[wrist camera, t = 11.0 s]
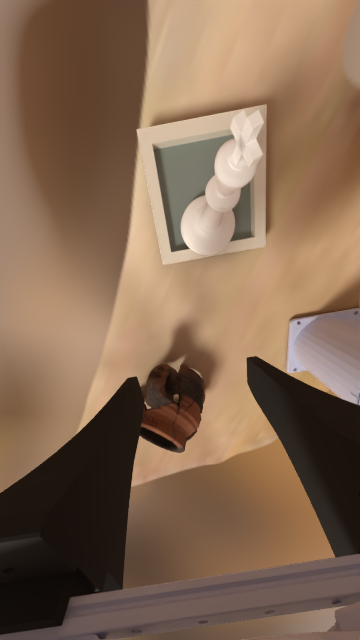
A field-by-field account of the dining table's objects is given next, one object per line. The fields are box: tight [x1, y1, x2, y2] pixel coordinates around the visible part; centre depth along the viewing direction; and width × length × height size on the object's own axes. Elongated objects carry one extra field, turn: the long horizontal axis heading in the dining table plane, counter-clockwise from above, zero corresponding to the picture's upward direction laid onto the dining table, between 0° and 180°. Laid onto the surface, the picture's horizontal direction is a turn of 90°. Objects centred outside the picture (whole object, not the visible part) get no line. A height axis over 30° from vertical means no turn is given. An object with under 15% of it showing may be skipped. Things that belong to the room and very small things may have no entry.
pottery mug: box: [139, 364, 205, 453], centre depth 22 cm, size 12×10×8 cm
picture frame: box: [137, 104, 267, 265], centre depth 16 cm, size 10×10×2 cm
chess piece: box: [181, 110, 264, 255], centre depth 11 cm, size 5×5×10 cm
